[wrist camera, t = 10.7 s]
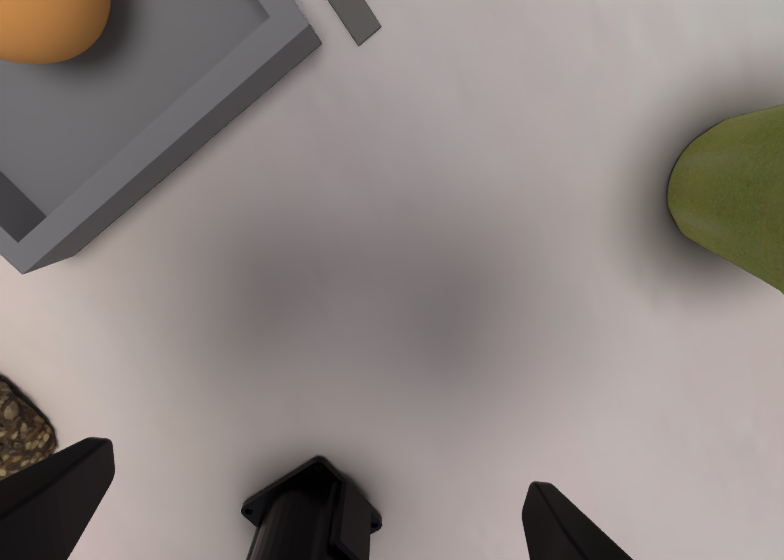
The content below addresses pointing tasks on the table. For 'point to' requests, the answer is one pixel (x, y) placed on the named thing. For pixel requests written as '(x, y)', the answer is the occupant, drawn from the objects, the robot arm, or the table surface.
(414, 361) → the table surface
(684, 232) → the plant pot
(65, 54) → the ball
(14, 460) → the brown speckled mound
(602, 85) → the table surface
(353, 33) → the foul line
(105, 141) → the grey square tray
